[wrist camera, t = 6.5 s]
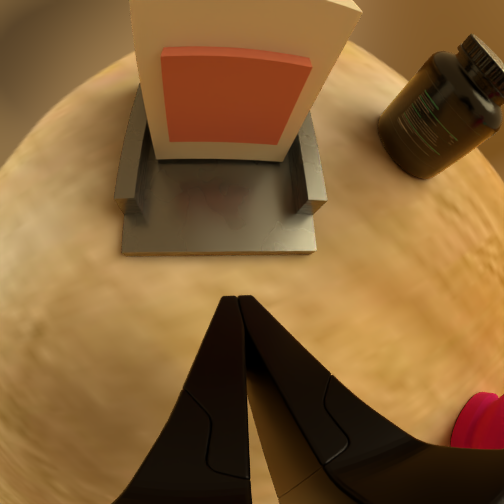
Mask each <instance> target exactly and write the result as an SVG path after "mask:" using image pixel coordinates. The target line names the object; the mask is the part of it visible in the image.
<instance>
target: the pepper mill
mask: <svg viewBox="0 0 504 504" xmlns="http://www.w3.org/2000/svg"><path fill="white" fill-rule="evenodd" d="M450 446H451V447H458V448H471V449H503V448H504V394H503V395H502V396H501V397H500V398H498V396H497V395H496V394H494V393H486V392H479V393H477V394H476V395H474V396H473V397H472V398H471V399H470V400H469V401H468V402H467V404H466V405H465V407H464V408H463V410H462V411H461V413H460V415H459V417H458V419H457V422H456V424H455V427H454V429H453V433H452V437H451V445H450Z"/></svg>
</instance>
